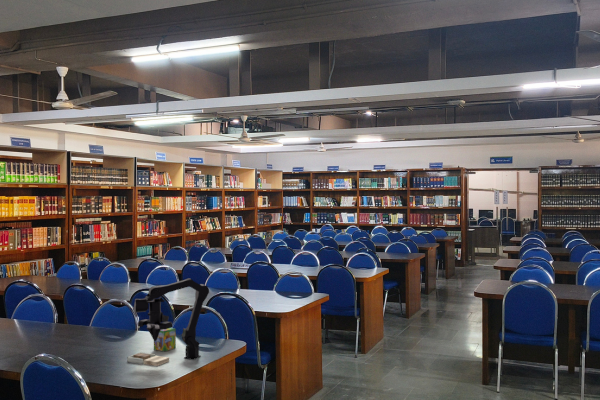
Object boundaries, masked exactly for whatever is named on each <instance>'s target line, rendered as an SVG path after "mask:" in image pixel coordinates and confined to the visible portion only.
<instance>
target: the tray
mask: <svg viewBox="0 0 600 400" xmlns="http://www.w3.org/2000/svg"><path fill="white" fill-rule="evenodd" d="M139 353H142V354H148V355H150V358H151V357H154V356H157V355H156V354H155V353H149V352H148V353H147V352H142V351H141V352H139ZM133 355H134V354H132V355H129V356H126V360H127V361H126V362H127V363H132V364H140V365H145V364H144V361H143V359H139V358H134V357H133Z"/></svg>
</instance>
